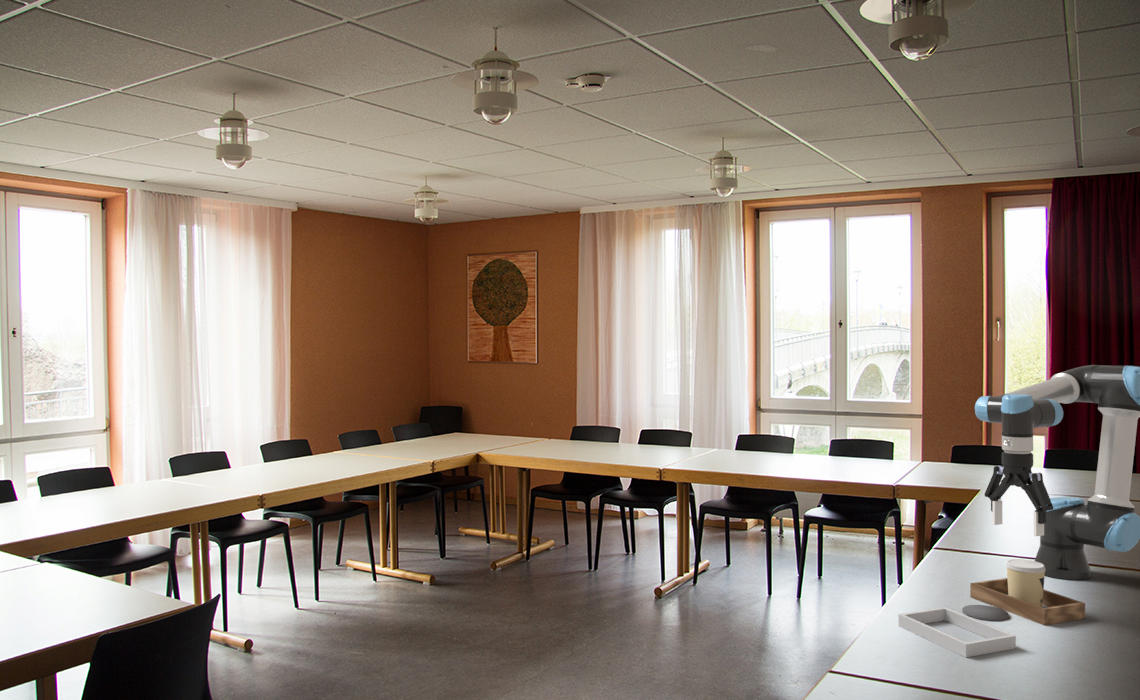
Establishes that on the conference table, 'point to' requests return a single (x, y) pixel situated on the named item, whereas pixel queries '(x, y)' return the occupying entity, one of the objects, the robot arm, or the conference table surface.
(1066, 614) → the frame
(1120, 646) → the conference table surface
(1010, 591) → the coffee cup
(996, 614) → the coaster
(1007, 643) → the gray rectangular frame
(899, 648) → the conference table surface
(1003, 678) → the conference table surface
